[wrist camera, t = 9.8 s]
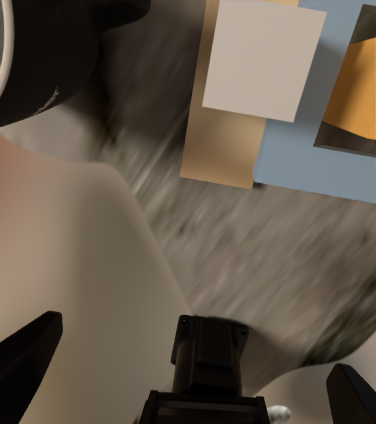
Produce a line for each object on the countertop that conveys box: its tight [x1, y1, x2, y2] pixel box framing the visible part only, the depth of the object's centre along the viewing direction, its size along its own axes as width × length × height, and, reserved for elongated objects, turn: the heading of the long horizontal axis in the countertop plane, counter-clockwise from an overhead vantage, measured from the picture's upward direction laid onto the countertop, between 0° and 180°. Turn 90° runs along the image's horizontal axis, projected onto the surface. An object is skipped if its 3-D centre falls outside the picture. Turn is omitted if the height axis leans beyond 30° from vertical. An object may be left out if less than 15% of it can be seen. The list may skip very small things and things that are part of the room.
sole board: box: [180, 0, 299, 189], centre depth 17 cm, size 14×5×1 cm, turn 171°
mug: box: [0, 0, 151, 127], centre depth 13 cm, size 12×9×10 cm
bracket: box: [202, 0, 376, 203], centre depth 13 cm, size 10×13×8 cm
